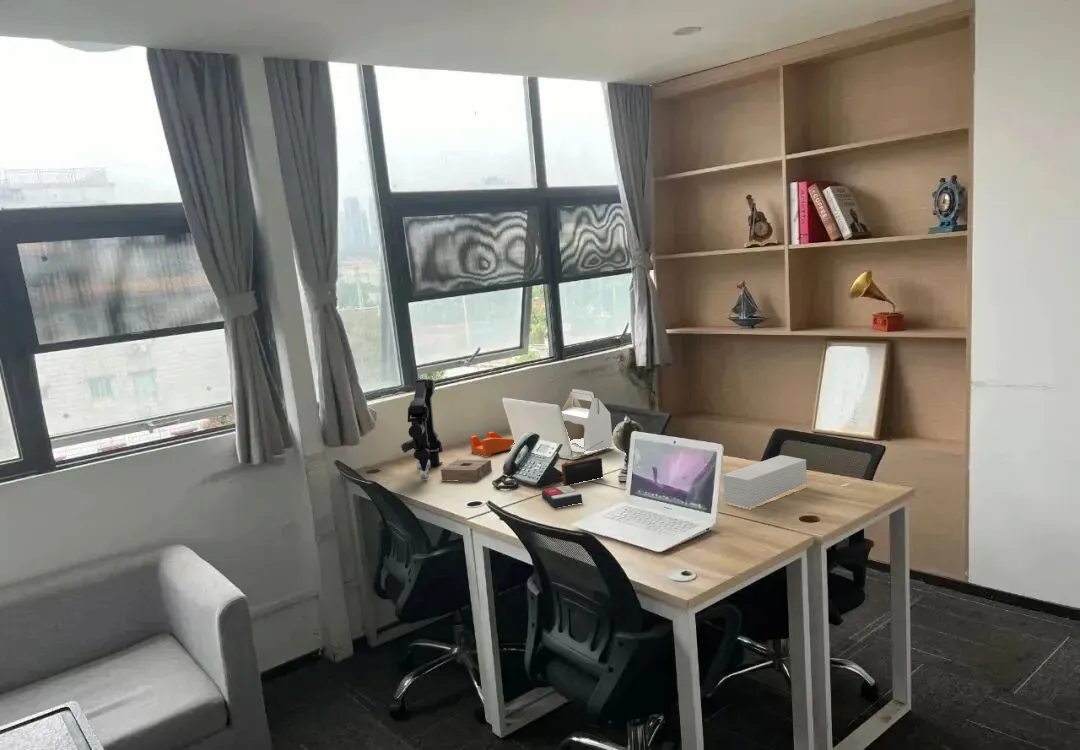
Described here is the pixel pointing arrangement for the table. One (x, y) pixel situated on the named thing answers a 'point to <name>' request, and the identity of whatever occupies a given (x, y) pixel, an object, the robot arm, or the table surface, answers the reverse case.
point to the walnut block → (466, 470)
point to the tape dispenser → (490, 444)
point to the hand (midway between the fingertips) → (424, 469)
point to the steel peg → (424, 473)
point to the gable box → (587, 421)
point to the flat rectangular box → (561, 496)
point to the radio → (582, 470)
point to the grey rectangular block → (764, 480)
